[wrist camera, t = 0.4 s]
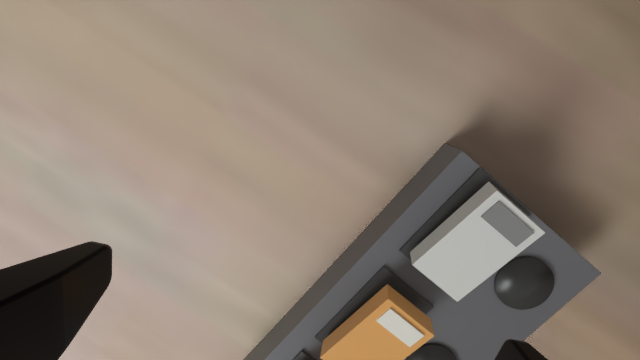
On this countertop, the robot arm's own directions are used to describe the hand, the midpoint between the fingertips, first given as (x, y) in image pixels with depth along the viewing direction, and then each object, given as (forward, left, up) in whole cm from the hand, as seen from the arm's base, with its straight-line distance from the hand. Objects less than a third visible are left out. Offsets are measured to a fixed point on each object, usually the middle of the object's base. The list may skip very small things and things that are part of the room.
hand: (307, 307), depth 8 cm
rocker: (+3, -7, -10) cm, 12 cm away
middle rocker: (-4, -7, -10) cm, 13 cm away
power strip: (-4, -9, -14) cm, 17 cm away
